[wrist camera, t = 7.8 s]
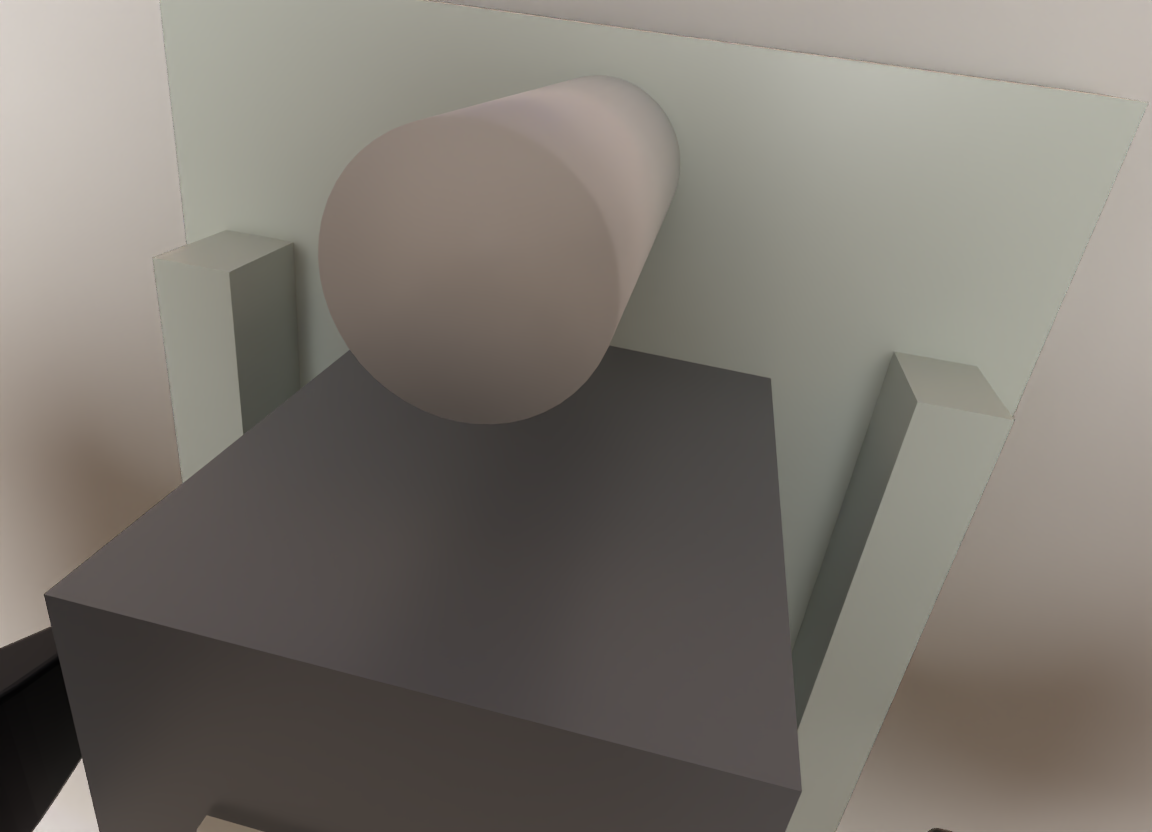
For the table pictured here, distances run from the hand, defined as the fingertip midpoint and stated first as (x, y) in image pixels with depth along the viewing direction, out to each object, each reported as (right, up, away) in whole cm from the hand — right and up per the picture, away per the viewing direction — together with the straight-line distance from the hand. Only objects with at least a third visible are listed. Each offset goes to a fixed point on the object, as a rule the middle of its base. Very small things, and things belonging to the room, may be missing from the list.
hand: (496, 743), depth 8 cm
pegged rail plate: (+1, +1, +3) cm, 3 cm away
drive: (0, +1, +2) cm, 2 cm away
